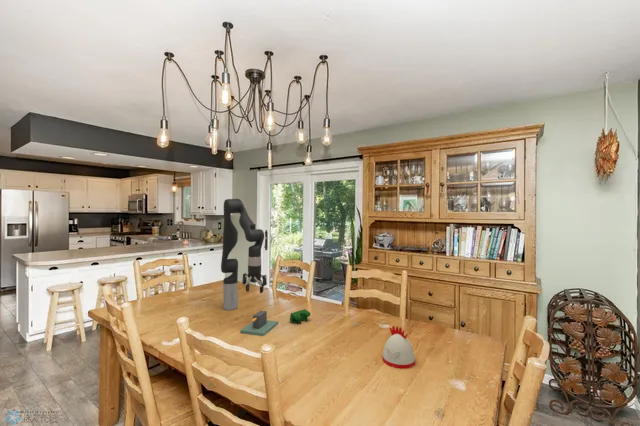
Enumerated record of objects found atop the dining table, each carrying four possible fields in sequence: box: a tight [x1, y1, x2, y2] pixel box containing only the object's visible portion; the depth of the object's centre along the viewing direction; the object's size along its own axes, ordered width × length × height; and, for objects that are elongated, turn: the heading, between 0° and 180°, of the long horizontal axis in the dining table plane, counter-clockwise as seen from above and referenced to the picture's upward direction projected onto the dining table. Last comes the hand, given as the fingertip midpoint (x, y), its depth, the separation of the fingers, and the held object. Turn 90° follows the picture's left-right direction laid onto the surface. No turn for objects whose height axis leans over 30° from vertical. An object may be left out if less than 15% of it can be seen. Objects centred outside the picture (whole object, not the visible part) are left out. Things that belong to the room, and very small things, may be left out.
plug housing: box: [251, 310, 268, 329], centre depth 171 cm, size 12×4×7 cm, turn 163°
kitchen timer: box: [382, 325, 416, 370], centre depth 136 cm, size 14×14×15 cm
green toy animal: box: [289, 308, 311, 325], centre depth 183 cm, size 12×6×9 cm, turn 129°
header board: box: [239, 319, 279, 337], centre depth 173 cm, size 18×14×6 cm
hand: (254, 292), depth 177 cm, fingers open, 8 cm apart
